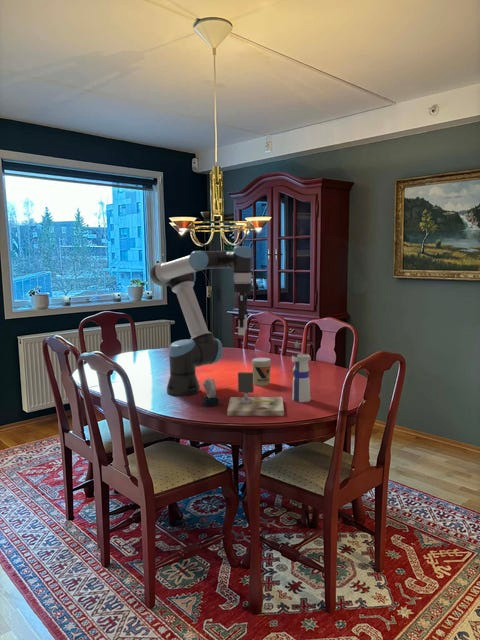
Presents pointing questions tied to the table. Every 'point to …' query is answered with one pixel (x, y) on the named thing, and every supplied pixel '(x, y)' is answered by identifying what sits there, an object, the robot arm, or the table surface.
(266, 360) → the coffee cup
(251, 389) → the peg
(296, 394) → the water bottle
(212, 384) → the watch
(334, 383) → the table surface
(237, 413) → the dial board
